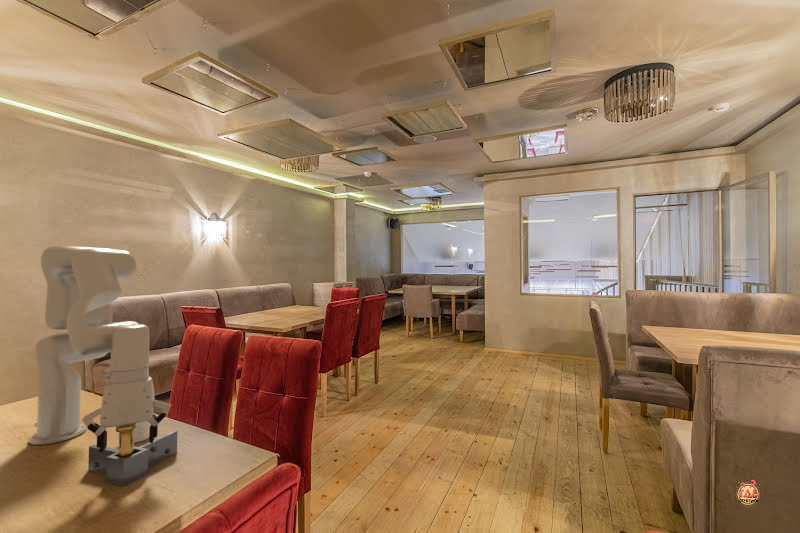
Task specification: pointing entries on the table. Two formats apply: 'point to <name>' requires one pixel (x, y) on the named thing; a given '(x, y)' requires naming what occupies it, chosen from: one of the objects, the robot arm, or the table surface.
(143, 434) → the white cup
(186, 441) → the table surface
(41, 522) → the table surface
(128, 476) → the hinge body
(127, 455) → the hinge pin
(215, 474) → the table surface
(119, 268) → the robot arm
